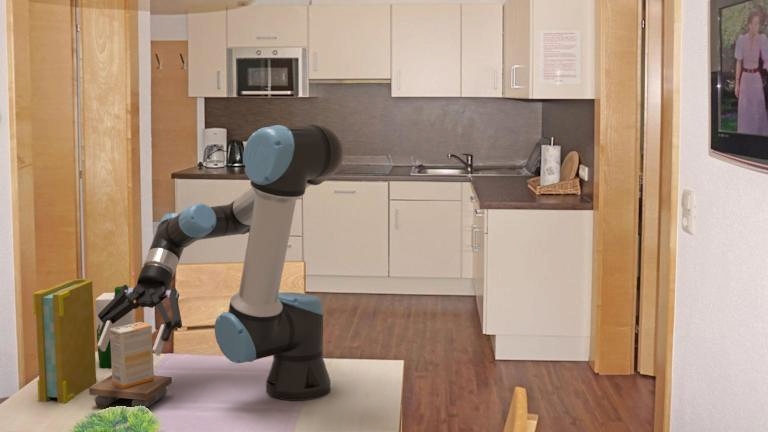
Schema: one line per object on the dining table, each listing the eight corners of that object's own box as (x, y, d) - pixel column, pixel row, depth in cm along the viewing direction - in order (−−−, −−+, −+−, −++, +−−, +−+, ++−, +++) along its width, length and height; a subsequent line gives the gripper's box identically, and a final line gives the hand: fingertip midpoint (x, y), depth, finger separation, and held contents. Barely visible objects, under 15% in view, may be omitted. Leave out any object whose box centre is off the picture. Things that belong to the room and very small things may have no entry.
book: (65, 403, 209) (60, 295, 206) (38, 400, 210) (33, 293, 207) (102, 379, 225) (98, 279, 222) (77, 378, 227) (72, 278, 223)
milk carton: (129, 369, 234) (127, 291, 231) (94, 368, 234) (91, 291, 231) (139, 358, 243) (136, 284, 240) (104, 358, 243) (101, 284, 240)
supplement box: (142, 376, 214) (140, 321, 212) (154, 380, 211) (152, 324, 209) (110, 384, 208) (108, 327, 206) (122, 389, 205) (120, 331, 203)
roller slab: (172, 395, 214) (171, 376, 214) (147, 413, 203) (146, 393, 202) (117, 390, 218) (117, 372, 217) (90, 407, 206) (89, 388, 205)
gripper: (211, 283, 220) (185, 362, 208) (116, 277, 226) (85, 354, 214) (201, 265, 214) (173, 346, 202) (104, 260, 220) (71, 338, 208)
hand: (128, 350), depth 208 cm, fingers open, 13 cm apart
